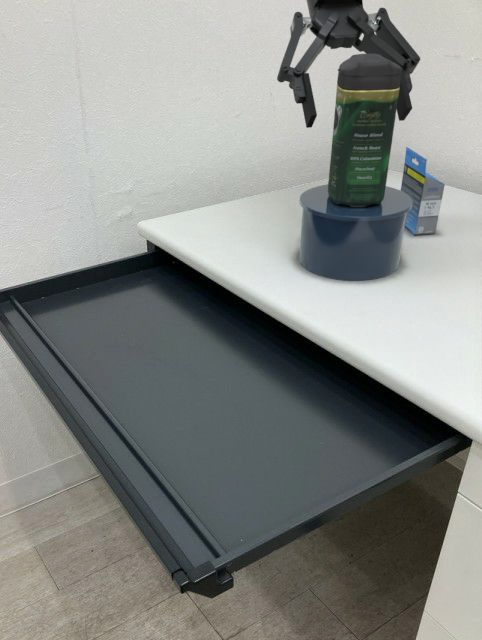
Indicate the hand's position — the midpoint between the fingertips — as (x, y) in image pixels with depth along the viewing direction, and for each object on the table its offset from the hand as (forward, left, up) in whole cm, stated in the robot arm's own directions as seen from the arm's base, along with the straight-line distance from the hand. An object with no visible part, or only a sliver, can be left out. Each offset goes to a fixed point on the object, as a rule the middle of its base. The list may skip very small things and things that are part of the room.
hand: (359, 118), depth 82 cm
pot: (0, +2, -20) cm, 20 cm away
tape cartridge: (-14, -12, -20) cm, 28 cm away
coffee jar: (0, +2, -11) cm, 11 cm away
